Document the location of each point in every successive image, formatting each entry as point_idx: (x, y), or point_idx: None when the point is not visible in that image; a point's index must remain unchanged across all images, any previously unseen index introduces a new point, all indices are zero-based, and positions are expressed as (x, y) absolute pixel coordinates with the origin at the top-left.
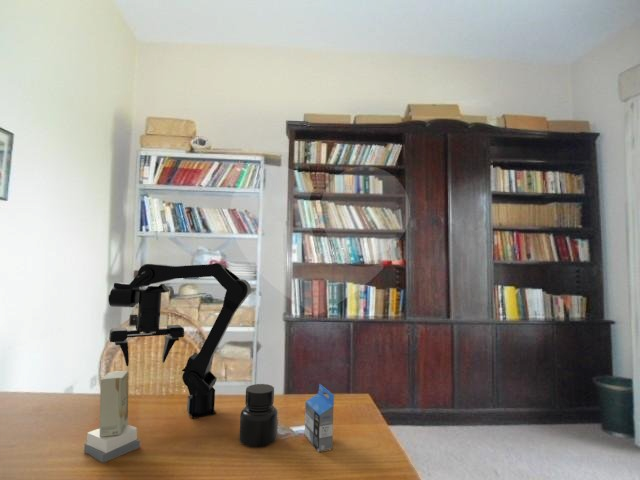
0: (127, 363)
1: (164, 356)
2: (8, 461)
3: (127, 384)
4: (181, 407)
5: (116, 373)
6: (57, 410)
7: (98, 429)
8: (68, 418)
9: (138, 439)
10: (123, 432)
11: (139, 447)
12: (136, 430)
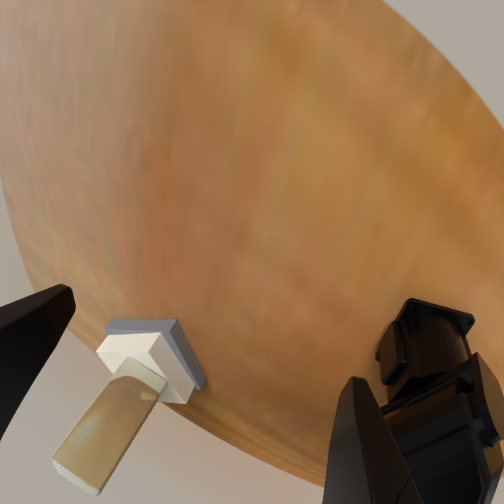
0: (59, 328)
1: (332, 458)
2: (24, 262)
3: (115, 466)
4: (415, 254)
5: (74, 480)
6: (53, 12)
7: (112, 354)
8: (66, 96)
9: (198, 387)
10: (159, 398)
11: (206, 378)
12: (186, 400)
